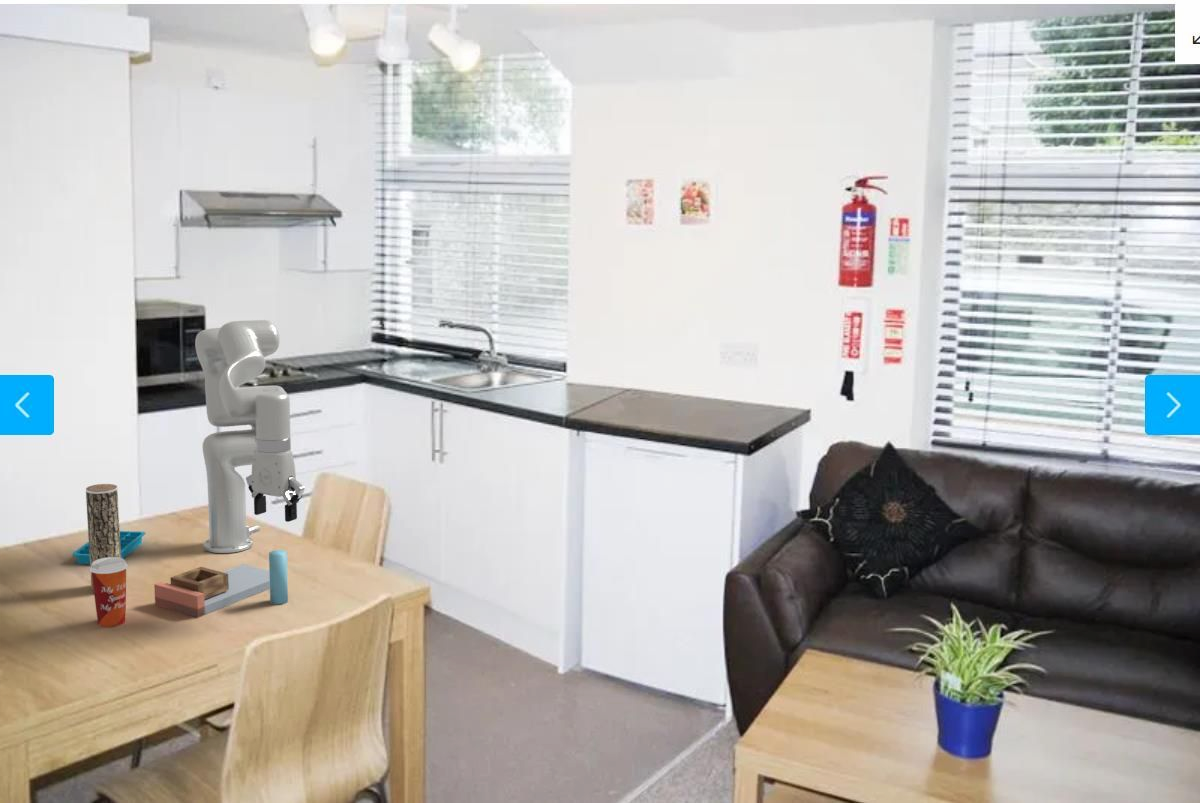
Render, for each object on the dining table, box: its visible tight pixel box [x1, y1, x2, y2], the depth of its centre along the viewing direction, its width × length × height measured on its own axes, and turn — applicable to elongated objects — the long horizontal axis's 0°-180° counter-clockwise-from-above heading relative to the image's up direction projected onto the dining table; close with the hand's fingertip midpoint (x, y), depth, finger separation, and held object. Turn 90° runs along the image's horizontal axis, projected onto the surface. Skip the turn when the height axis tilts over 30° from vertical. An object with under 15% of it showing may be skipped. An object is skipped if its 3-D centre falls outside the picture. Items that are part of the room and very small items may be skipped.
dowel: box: [268, 549, 289, 606], centre depth 260 cm, size 4×4×12 cm
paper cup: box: [89, 557, 129, 628], centre depth 244 cm, size 8×8×14 cm
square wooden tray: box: [170, 566, 229, 599], centre depth 258 cm, size 9×9×4 cm
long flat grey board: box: [153, 563, 270, 618], centre depth 264 cm, size 27×14×5 cm, turn 151°
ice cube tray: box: [72, 530, 146, 565], centre depth 290 cm, size 12×20×3 cm, turn 1°
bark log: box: [85, 483, 121, 591], centre depth 263 cm, size 7×7×25 cm
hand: (275, 516), depth 257 cm, fingers open, 9 cm apart
